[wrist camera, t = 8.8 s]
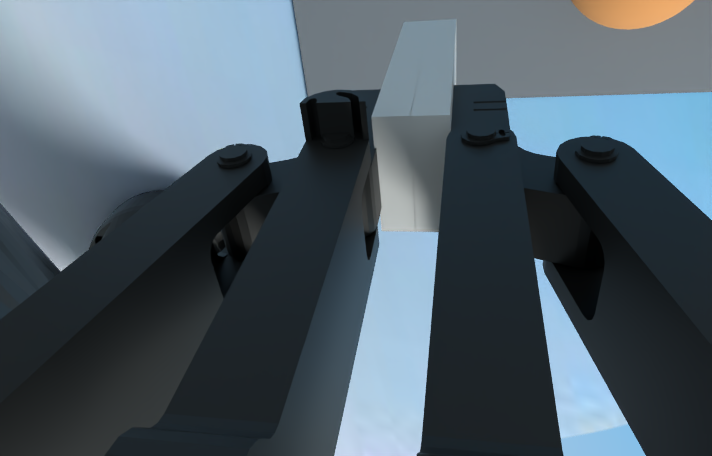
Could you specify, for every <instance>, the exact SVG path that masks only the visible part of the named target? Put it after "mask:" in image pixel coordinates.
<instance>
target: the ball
mask: <svg viewBox="0 0 712 456" xmlns="http://www.w3.org/2000/svg"><path fill="white" fill-rule="evenodd" d="M571 1H572V2H573V4H574V5H575V7H576V8H577V9H578V10H579V11H580V12H581V13H582V14H583V15H585V16H586V17H587V18H588V19H590V20H592V21H594V22H596V23H598V24H600V25H603V26H606V27H609V28H615V29H627V30H630V29H639V28H644V27H649V26H652V25H655V24H658V23H661V22H663V21H665V20H667V19H669V18H671V17H673V16H675V15H676V14H678V13H679V12H681V11H682V10H684V9H685V8H686V7H687V6H688V5H690V4H691V3H692V2H693V1H694V0H571Z"/></svg>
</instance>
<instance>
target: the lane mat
mask: <svg viewBox="0 0 712 456" xmlns="http://www.w3.org/2000/svg"><path fill="white" fill-rule="evenodd" d="M293 6H294V12H295V18H296V25H297V31H298V37H299V43H300V50H301V56H302V62H303V69H304V75H305V81H306V87H307V94H308V97H309V96H311V95H313V94H316V93H320V92H324V91H330V90H352V91H353V90H375V89H381V87H382V85H383V82H384V79H385V76H386V73H387V70H388V67H389V64H390V61H391V58H392V55H393V53H394V50H395V47H396V44H397V41H398V38H399V35H400V32H401V29H402V26H403V23H404V22H414V21H431V20H448V19H456V85H471V84H496V85H497V86H499V87H500V88H501V89H502V90H504V91H505V96H506V98H526V97H559V96H591V95H624V94H657V93H690V92H712V0H694V1H693V2H692V3H691V4H690V5H688V6H687V7H686V8H685V9H684V10H682V11H681V12H679V13H678V14H676V15H675V16H673V17H671V18H669V19H667V20H665V21H663V22H661V23H658V24H655V25H652V26H649V27H644V28H639V29H630V30H627V29H615V28H609V27H606V26H603V25H600V24H598V23H596V22H594V21H592V20H590V19H588V18H587V17H586V16H585V15H583V14H582V13H581V12H580V11H579V10H578V9H577V8H576V7H575V5H574V4H573V2H572V1H571V0H293Z"/></svg>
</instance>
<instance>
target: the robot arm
mask: <svg viewBox="0 0 712 456" xmlns="http://www.w3.org/2000/svg"><path fill="white" fill-rule="evenodd" d="M300 109H301V114H302V120H303V126H304V132H305V138H306V142H305V144H304V146H303V148H302V150H301V152H300V154H299V156H298V157H297V158H293V159H289V160H284V161H278V162H272V163H269V160H268V155H267V151H266V150H265V149H264V148H262V147H261V146H257V145H253V144H236V145H234V144H233V145H228V146H226V147H225V148H223V149H220V150H217V151H215V152H214V153H212V154H210V155H209V156H207V157H206V158H205V159H203V160H202V161H201V162H200V163H198V164H197V165H196V166H195V167H193V168H192V169H191V170H190V171H188V172H187V173H186V174H184V175H183V176H182V177H181V178H179V179H178V180H177V181H176V182H174V183H173V184H172V185H170V186H169V187H168V188H167V189H165V190H160V191H152V192H147V193H143V194H140V195H137V196H135V197H133V198H131V199H129V200H127V201H126V202H124V203H123V204H121V205H120V206H119V207H118V208H117V209H116V210H115V211H114V212H113V213H112V214H111V215H110V216H109V218H108V219H107V220H106V221H105V222H104V223H103V224H102V225H101V226H100V228H99V229H98V231H97V232H96V234H95V236H94V238H93V240H92V242H91V245H90V248H89V250H88V251H87V252H85V253H84V254H83V255H82V256H80V257H79V258H78V259H76V260H75V261H74V262H73V263H71V264H70V265H69V266H68V267H66V268H65V269H64V270H63V271H61V272H60V270H59V269H58V268H57V267H56V266H55V265H54V264H53V262H52V261H51V260H50V259H49V258H48V257H47V256H46V255H45V253H44V252H43V251H42V250H41V249H40V248H39V247H38V245H37V244H36V243H35V242H34V241H33V240H32V239H31V238H30V236H29V235H28V234H27V233H26V232H25V231H24V230H23V228H22V227H21V226H20V225H19V224H18V223H17V222H16V221H15V219H14V218H13V217H12V216H11V215H10V214H9V213H8V211H7V210H6V209H5V208H4V207H3V206H2V205H1V203H0V456H334V453H335V449H336V444H337V439H338V435H339V430H340V425H341V421H342V416H343V411H344V407H345V402H346V397H347V393H348V388H349V383H350V379H351V374H352V369H353V364H354V360H355V355H356V350H357V346H358V341H359V336H360V332H361V327H362V322H363V318H364V313H365V308H366V304H367V299H368V294H369V290H370V285H371V280H372V276H373V271H374V266H375V262H376V257H377V252H378V248H379V237H378V227H377V225H378V221H379V216H380V217H381V228H382V231H409V232H439V235H438V247H437V259H436V272H435V284H434V296H433V309H432V321H431V333H430V345H429V358H428V370H427V382H426V394H425V407H424V419H423V431H422V442H421V449H420V452H419V453H417V456H563V451H562V445H561V438H560V431H559V424H558V418H557V411H556V404H555V397H554V390H553V384H552V377H551V370H550V363H549V356H548V350H547V343H546V336H545V329H544V322H543V315H542V309H541V302H540V295H539V288H538V281H537V275H536V268H535V261H534V258H536V259H540V260H543V269H544V273H545V275H546V276H547V278H548V280H549V282H550V284H551V285H552V287H553V289H554V291H555V293H556V294H557V296H558V298H559V300H560V302H561V303H562V305H563V307H564V309H565V311H566V312H567V314H568V316H569V318H570V320H571V321H572V323H573V325H574V327H575V329H576V330H577V332H578V334H579V336H580V338H581V339H582V341H583V343H584V345H585V347H586V348H587V350H588V352H589V354H590V356H591V357H592V359H593V361H594V363H595V365H596V366H597V368H598V370H599V372H600V374H601V375H602V377H603V379H604V381H605V383H606V384H607V386H608V388H609V390H610V392H611V393H612V395H613V397H614V399H615V401H616V402H617V404H618V406H619V408H620V410H621V411H622V413H623V415H624V417H625V419H626V420H627V422H628V424H629V426H630V428H631V429H632V431H633V433H634V435H635V437H636V438H637V440H638V442H639V444H640V446H641V447H642V449H643V451H644V453H645V455H646V456H712V220H711V219H710V218H709V217H708V216H706V215H705V214H704V213H703V212H702V211H701V210H700V209H699V208H698V207H697V206H696V205H694V204H693V203H692V202H691V201H690V200H689V199H688V198H687V197H686V196H685V195H684V194H683V193H681V192H680V191H679V190H678V189H677V188H676V187H675V186H674V185H673V184H672V183H671V182H669V181H668V180H667V179H666V178H665V177H664V176H663V175H662V174H661V173H660V172H659V171H658V170H656V169H655V168H654V167H653V166H652V165H651V164H650V163H649V162H648V161H647V160H646V159H644V158H643V157H642V156H641V155H640V154H639V153H638V152H637V151H636V150H635V149H634V148H632V147H630V146H629V145H627V144H625V143H624V142H620V141H617V140H614V139H612V138H610V137H605V136H603V137H601V136H590V137H579V138H575V139H570V140H568V141H566V142H564V143H562V144H560V146H559V148H558V149H557V152H556V157H552V156H545V155H540V154H535V153H531V152H529V151H526V150H524V149H522V148H520V147H518V145H517V138H516V136H515V134H514V133H513V131H511V130H510V125H509V118H508V111H507V103H506V96H505V91H504V90H502V89H501V88H500V87H499V86H497V85H496V84H471V85H456V19H448V20H431V21H414V22H404V23H403V26H402V29H401V32H400V35H399V38H398V41H397V44H396V47H395V50H394V53H393V55H392V58H391V61H390V64H389V67H388V70H387V73H386V76H385V79H384V82H383V85H382V87H381V89H375V90H353V91H352V90H330V91H324V92H320V93H316V94H313V95H311V96H309V97H307V98H305V99H304V100H303V101H302V102H301V103H300Z"/></svg>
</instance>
